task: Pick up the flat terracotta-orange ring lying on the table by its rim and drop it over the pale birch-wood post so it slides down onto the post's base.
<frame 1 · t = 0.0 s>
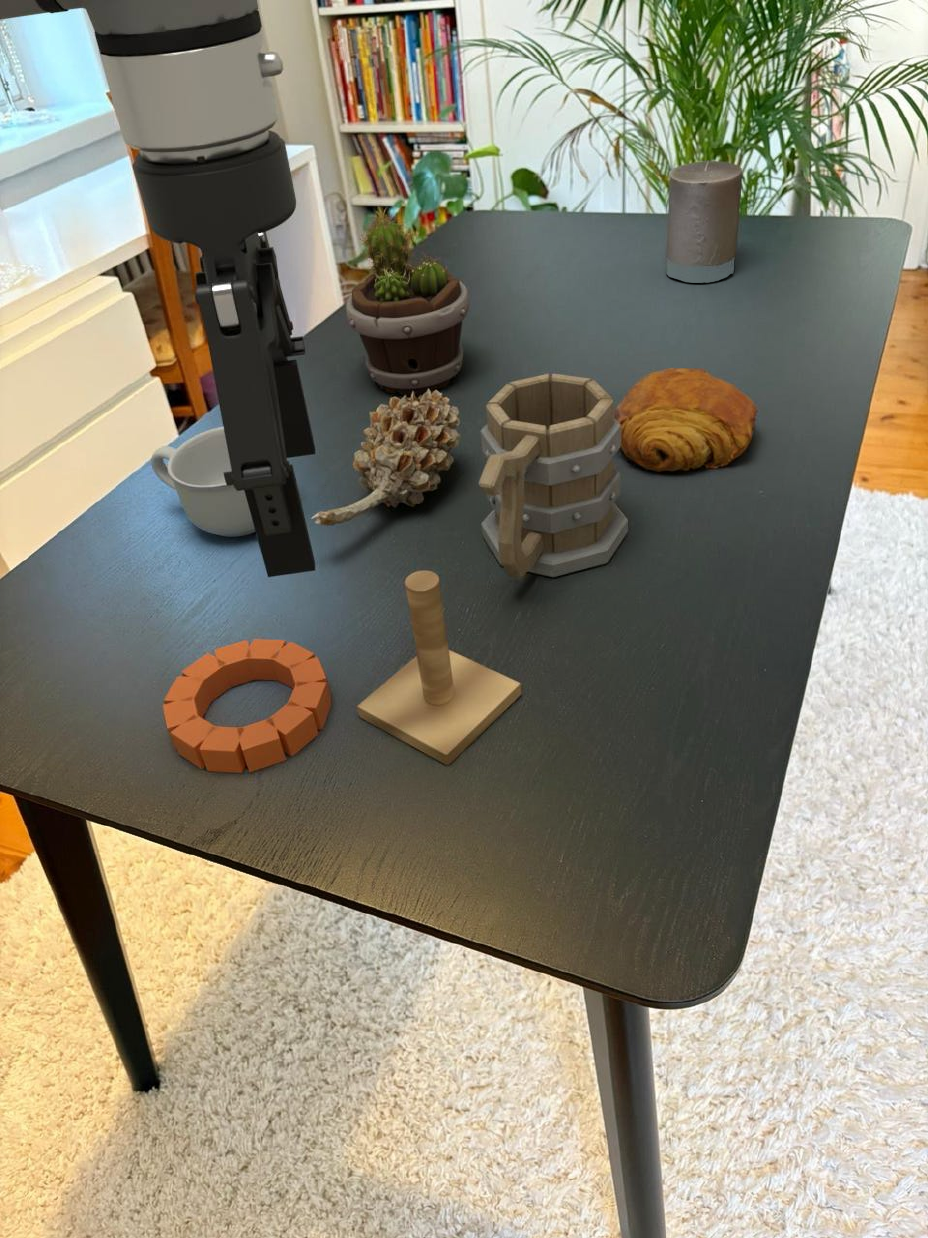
hand: (294, 507, 61), 20 cm above the table, tool pointing down, fingers open, 13 cm apart
ring: (251, 713, 77), on the table
tankard: (538, 558, 90), on the table
pine cone: (395, 511, 98), on the table
croissant: (683, 443, 103), on the table
pillar candle: (699, 273, 140), on the table
rack: (440, 705, 75), on the table
teacup: (230, 518, 100), on the table
flowerpot: (417, 379, 121), on the table
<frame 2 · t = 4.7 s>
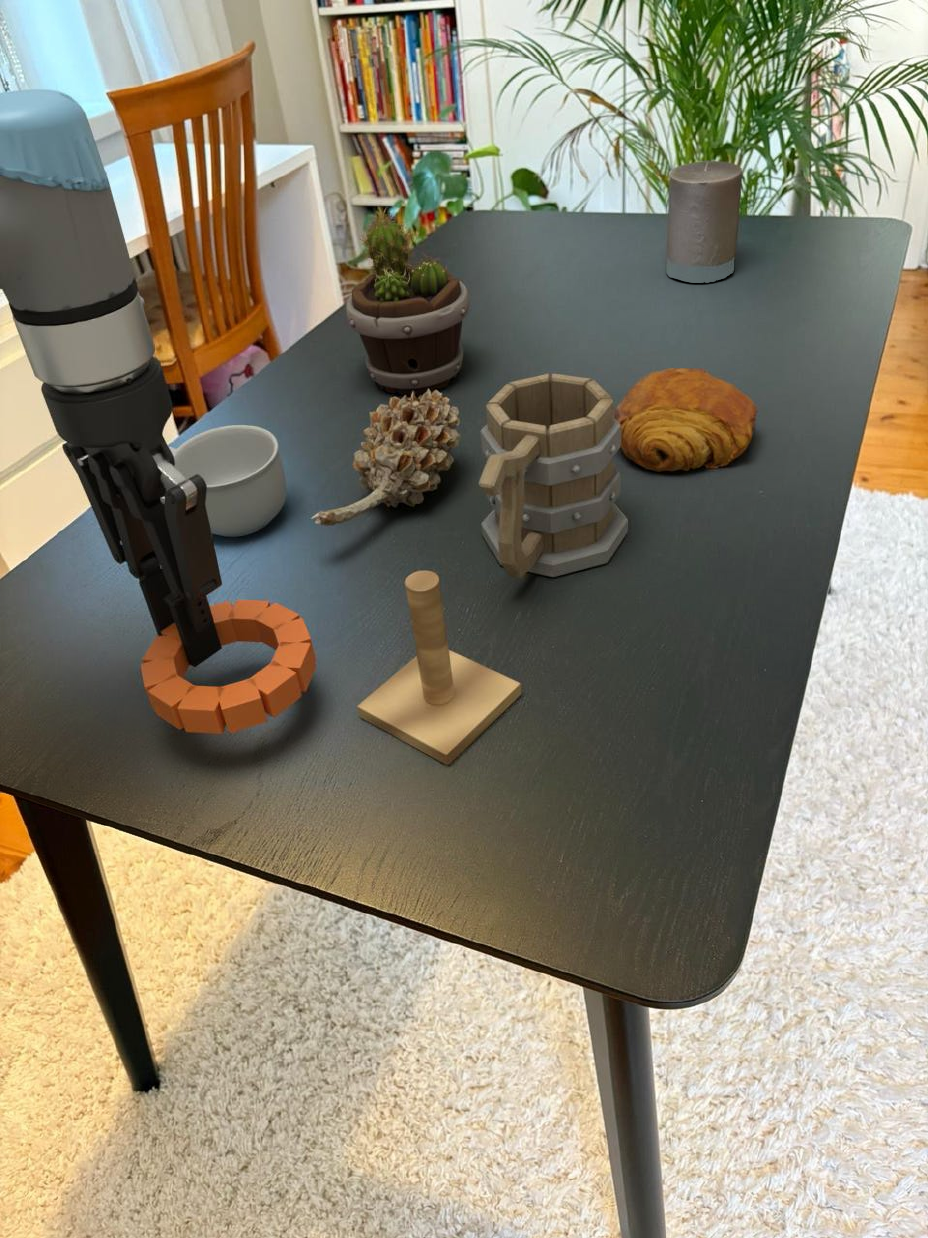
hand: (192, 647, 76), 5 cm above the table, tool pointing down, fingers closed on ring, 3 cm apart
ring: (233, 674, 74), point 4 cm above the table, touching gripper
everything else where it was.
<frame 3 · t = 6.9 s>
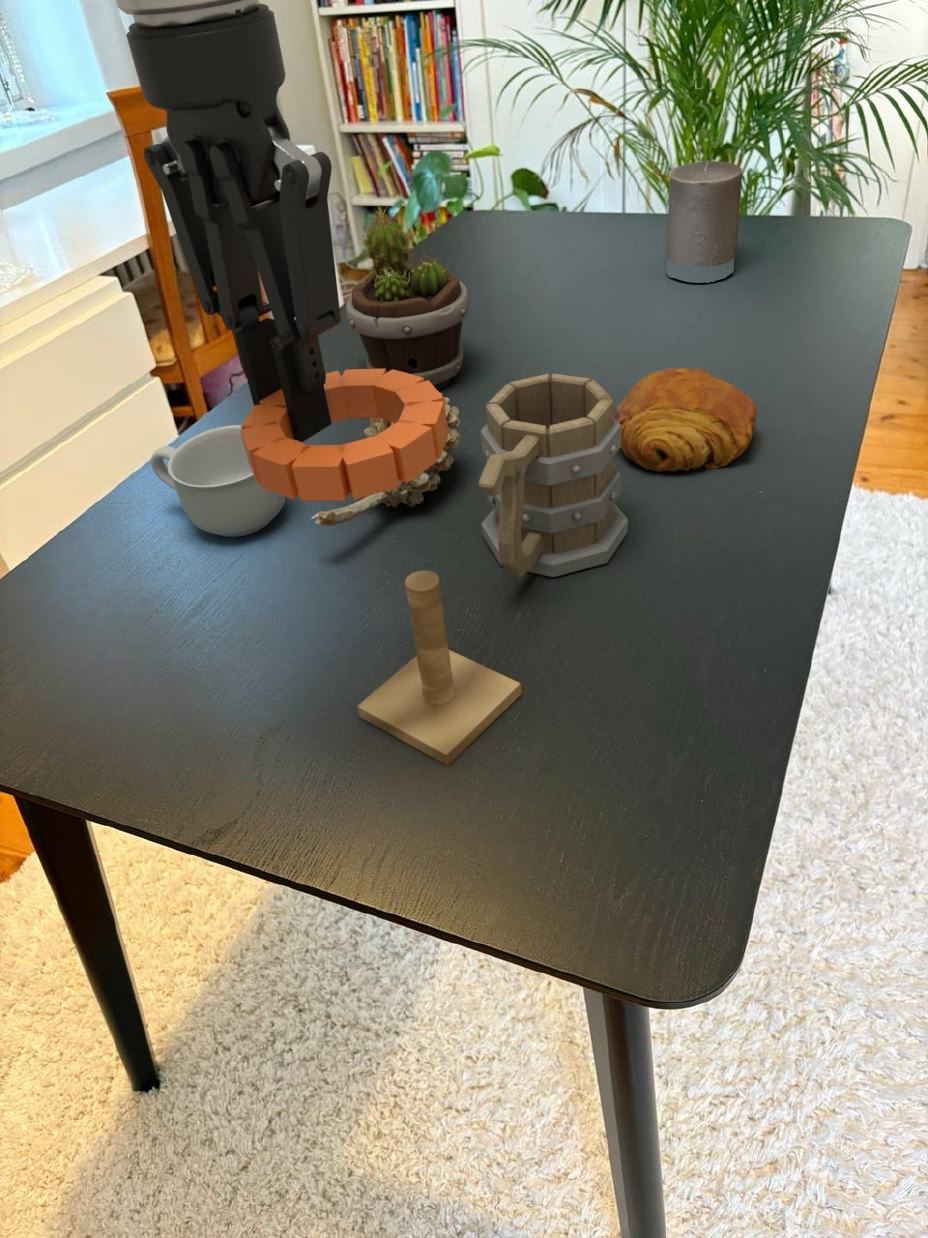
hand: (295, 425, 64), 23 cm above the table, tool pointing down, fingers closed on ring, 3 cm apart
ring: (348, 447, 62), point 23 cm above the table, touching gripper
everything else where it was.
when the fingers open (15 cm above the table, at t = 9.4 s): ring drops 13 cm, resting on rack.
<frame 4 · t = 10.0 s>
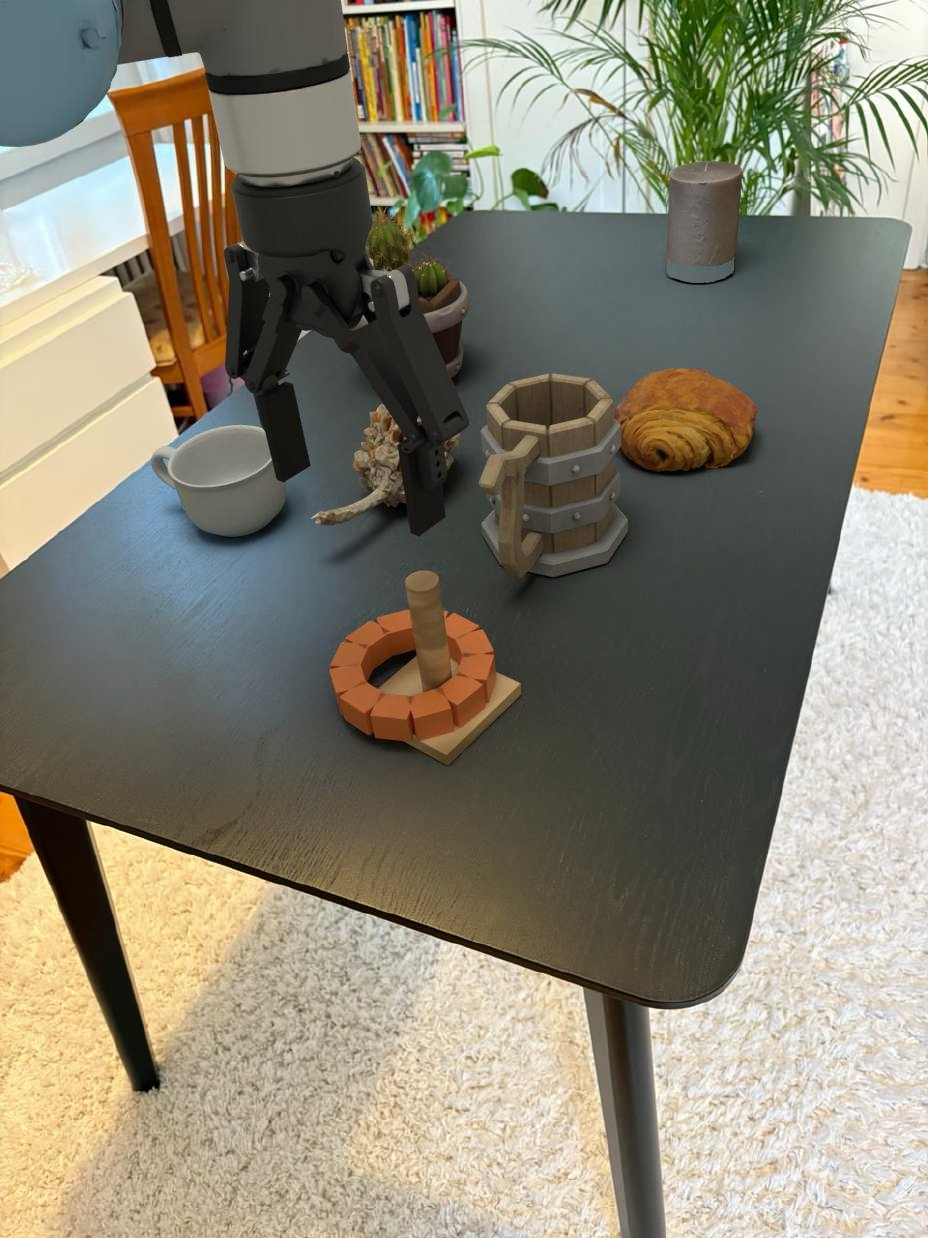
hand: (357, 497, 67), 17 cm above the table, tool pointing down, fingers open, 12 cm apart
ring: (415, 682, 76), point 1 cm above the table, touching rack
everything else where it was.
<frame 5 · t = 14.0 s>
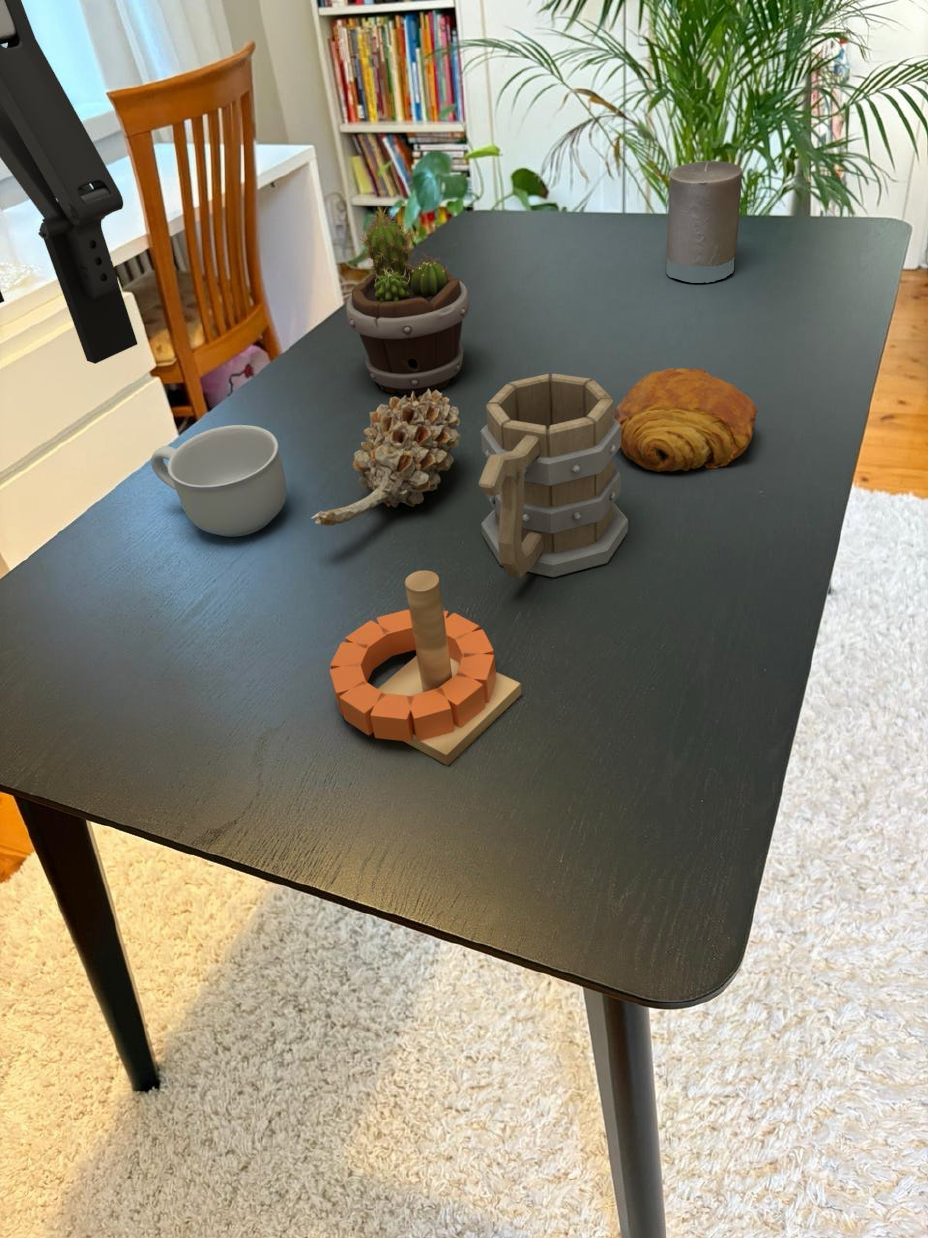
hand: (43, 329, 55), 33 cm above the table, tool pointing down, fingers open, 13 cm apart
nothing on the table moved.
at the end: ring 2.4 cm off-centre on the rack, point 1.2 cm above the rack's base; the gripper is holding nothing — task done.
